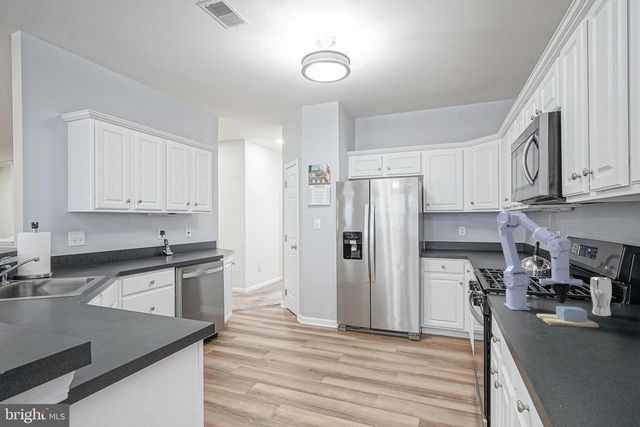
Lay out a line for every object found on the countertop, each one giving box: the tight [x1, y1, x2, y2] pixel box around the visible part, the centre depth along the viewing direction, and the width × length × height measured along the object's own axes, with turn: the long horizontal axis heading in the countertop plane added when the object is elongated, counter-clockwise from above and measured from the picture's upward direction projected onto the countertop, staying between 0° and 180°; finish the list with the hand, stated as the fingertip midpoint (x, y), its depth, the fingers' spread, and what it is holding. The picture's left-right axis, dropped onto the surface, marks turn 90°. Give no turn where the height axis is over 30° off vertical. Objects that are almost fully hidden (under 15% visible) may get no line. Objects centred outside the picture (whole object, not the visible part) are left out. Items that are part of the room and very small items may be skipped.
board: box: [536, 313, 600, 328], centre depth 131 cm, size 12×16×1 cm
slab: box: [555, 305, 588, 322], centre depth 131 cm, size 6×4×8 cm
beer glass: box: [589, 276, 613, 317], centre depth 139 cm, size 7×7×15 cm
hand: (561, 302), depth 132 cm, fingers closed
